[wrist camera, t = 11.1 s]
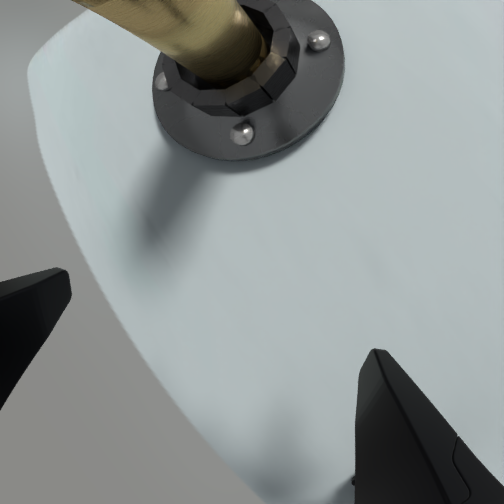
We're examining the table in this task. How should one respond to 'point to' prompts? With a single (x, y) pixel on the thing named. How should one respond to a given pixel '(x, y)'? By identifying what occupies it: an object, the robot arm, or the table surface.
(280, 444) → the table surface
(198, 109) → the grey flange
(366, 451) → the robot arm
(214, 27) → the brass pepper mill
